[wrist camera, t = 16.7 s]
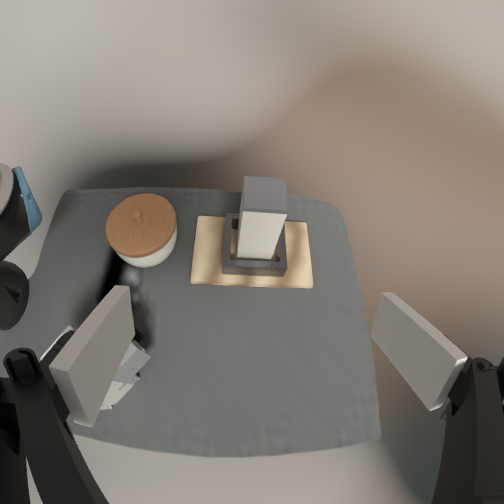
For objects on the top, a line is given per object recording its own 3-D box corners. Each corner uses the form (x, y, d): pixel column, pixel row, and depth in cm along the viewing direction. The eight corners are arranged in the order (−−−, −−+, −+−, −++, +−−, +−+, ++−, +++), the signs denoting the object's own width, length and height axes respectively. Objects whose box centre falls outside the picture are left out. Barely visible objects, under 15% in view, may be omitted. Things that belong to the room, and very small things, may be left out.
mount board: (191, 283, 48) (190, 280, 47) (198, 219, 55) (198, 215, 54) (311, 288, 50) (313, 285, 49) (304, 225, 57) (306, 222, 56)
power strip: (236, 262, 50) (243, 207, 36) (237, 233, 53) (244, 173, 39) (269, 264, 51) (288, 210, 37) (268, 235, 54) (284, 177, 40)
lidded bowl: (109, 264, 48) (88, 233, 39) (139, 214, 54) (126, 178, 45) (164, 288, 47) (151, 259, 38) (192, 232, 54) (187, 195, 44)
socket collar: (222, 274, 49) (222, 265, 46) (225, 223, 54) (225, 212, 51) (283, 276, 50) (287, 268, 47) (280, 226, 55) (283, 216, 52)
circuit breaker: (163, 352, 42) (138, 333, 29) (111, 408, 35) (67, 410, 22) (133, 323, 43) (100, 291, 30) (83, 377, 37) (34, 364, 24)
